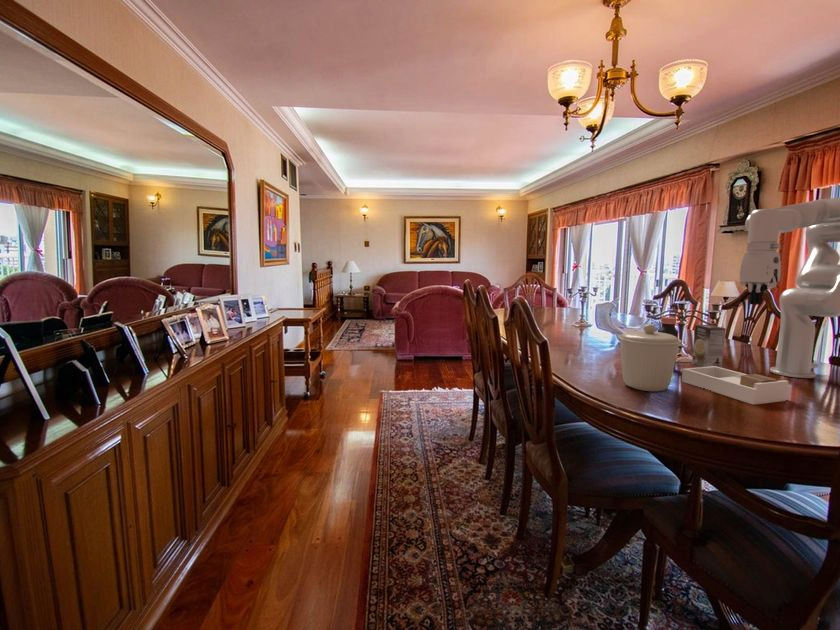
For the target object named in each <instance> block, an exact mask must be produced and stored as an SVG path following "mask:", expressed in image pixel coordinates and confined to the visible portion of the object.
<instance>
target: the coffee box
mask: <svg viewBox="0 0 840 630" xmlns="http://www.w3.org/2000/svg"><path fill="white" fill-rule="evenodd" d="M693 337H694V338H693V346H692V347H693V348H692V356H691V357H692V358H691V359H692V360H691V364H692V365H695V366H698V367H710V366H716V367H720V368H723V358H724V347H725V339H726V328H725V327H721V326H717V325H713V324H695V326H694V336H693Z"/></svg>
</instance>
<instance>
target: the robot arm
mask: <svg viewBox="0 0 840 630" xmlns="http://www.w3.org/2000/svg"><path fill="white" fill-rule="evenodd" d="M744 226H745V229H746V231H747V232H748V233H747V241H746V243H747V244H746V252H744V253H743V256H742V260H741V264H740V268H739V269H740V270H739V281H740V283H739V285H740V286H742V287H746V289H747V290H748V292H749V305H754V306H755V305H757V306H758V305H760V306H761V305H762V304H763V299H764V293H766V291H767V290H768V289H770V288H771V289H772V288H776V287H777V284H778V283H779V282H780V280H781V273H782V272H781V271H782V264H781V255H780V252H778V251H777V249H780V248H781V243H778V239H779V234H780V233H781V234H783V233H790V232H791V233H792V232H793V231H795V230H798V229H805V241H806V246H807V250H808V255H807V258H806V259H805V262H804V264H803V265H802V268H801V270H800V271H799V272H798V275H797V278H796V285H797V286H798V287H790V288H787V289H785V290H783V291H782V293H781V294H780V296H779V308H780V309H779V310H780V322H779V323H780V325H779V332H778V333H779V334H778V341H777V343H778V344H777V350H776V351H777V352H776V359H775V366H771V367H769V371H770V373H773V374H776V375H780V376H784V377H788V378H789V377H790V378H797V379H813V378H816V376H817V373H815V372H814V371H812V369H817V368H818V367H819V363H816V362H812V360H813V354H814V353H813V352H814V345H815V335H816V326H815V323H814V321H813V319H811V318H810V316H811V317H813V316H815V317H822V318H823V317H825V318H837V317H840V264H839V263H840V254H839V253H838V251H837V250H836V249H835V248H834V247H833V246H831V245H830V243H840V197H830V198H822V199H821V198H819V199H815V200H814V199H813V200H811V201H805V202H801V203H794V204H789V205H788V204H787V205H784V206H779V207H774V208H761V209H754V210H752V211H751V212H750V214H749V215H748V216H747V217H746V219H745V223H744Z"/></svg>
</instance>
